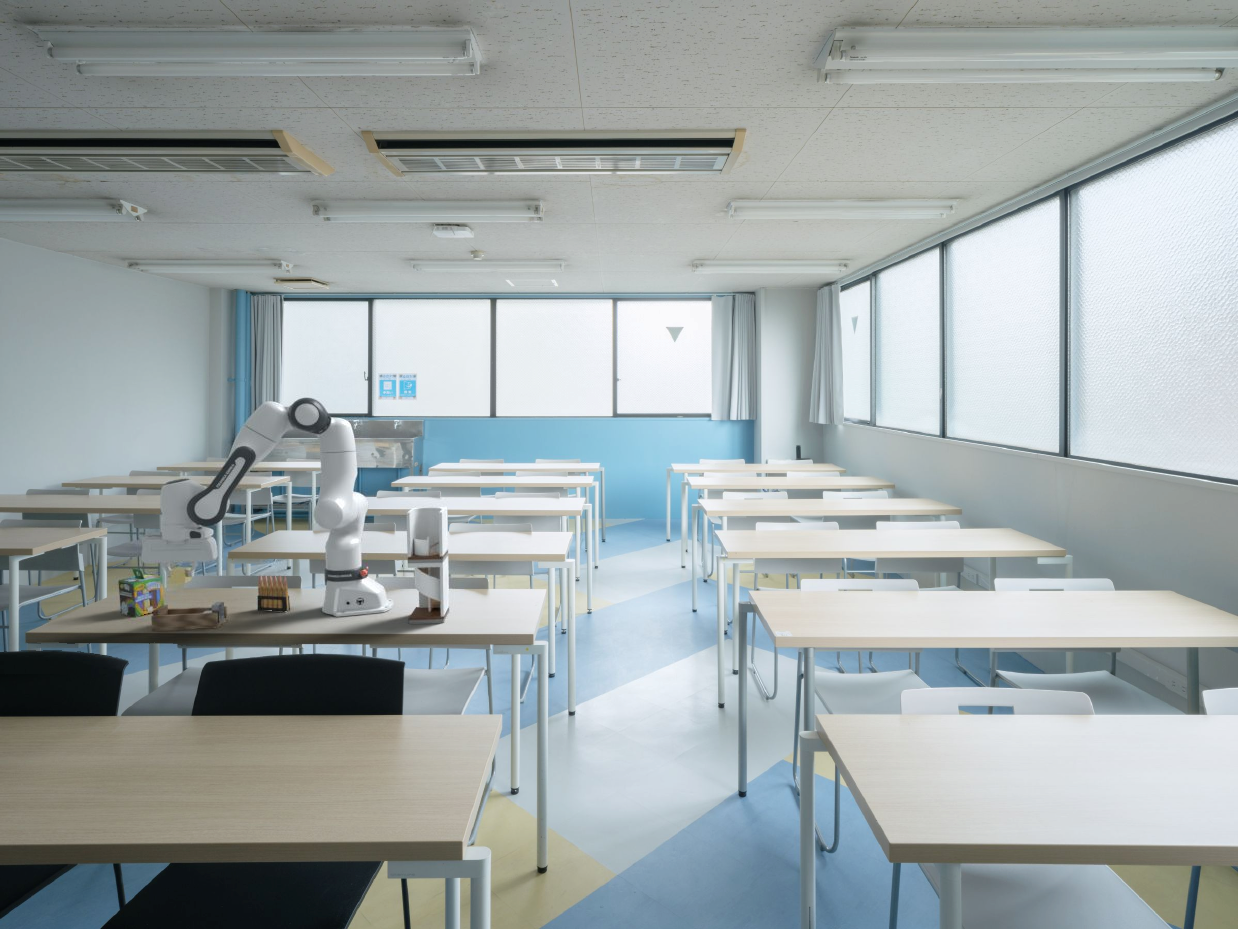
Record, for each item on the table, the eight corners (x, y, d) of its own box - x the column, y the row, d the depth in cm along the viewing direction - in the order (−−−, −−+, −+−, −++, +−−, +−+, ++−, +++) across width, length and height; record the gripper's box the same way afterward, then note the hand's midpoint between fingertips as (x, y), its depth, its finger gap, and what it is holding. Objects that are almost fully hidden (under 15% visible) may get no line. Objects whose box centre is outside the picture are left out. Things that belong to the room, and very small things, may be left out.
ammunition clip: (290, 610, 226) (289, 575, 225) (286, 612, 225) (285, 576, 224) (261, 609, 228) (259, 573, 227) (257, 610, 226) (255, 575, 225)
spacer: (185, 583, 207) (184, 570, 207) (170, 583, 206) (170, 570, 206) (191, 579, 211) (190, 567, 211) (177, 580, 210) (176, 567, 210)
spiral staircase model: (416, 613, 223) (413, 507, 221) (449, 612, 224) (447, 507, 222) (409, 623, 212) (406, 512, 209) (443, 622, 213) (441, 512, 210)
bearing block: (227, 620, 216) (226, 601, 215) (216, 628, 208) (216, 608, 207) (165, 623, 213) (164, 604, 212) (152, 631, 205) (150, 611, 204)
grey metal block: (224, 618, 213) (223, 601, 213) (219, 622, 210) (218, 605, 209) (207, 619, 213) (206, 602, 212) (201, 623, 209) (200, 605, 208)
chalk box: (165, 610, 226) (162, 566, 225) (135, 618, 218) (132, 572, 217) (149, 606, 230) (147, 563, 229) (119, 614, 222) (116, 569, 221)
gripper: (135, 534, 203) (138, 580, 204) (210, 533, 206) (212, 578, 207) (146, 531, 209) (148, 575, 210) (218, 529, 212) (220, 573, 213)
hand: (180, 576), depth 209 cm, fingers closed on spacer, 4 cm apart
